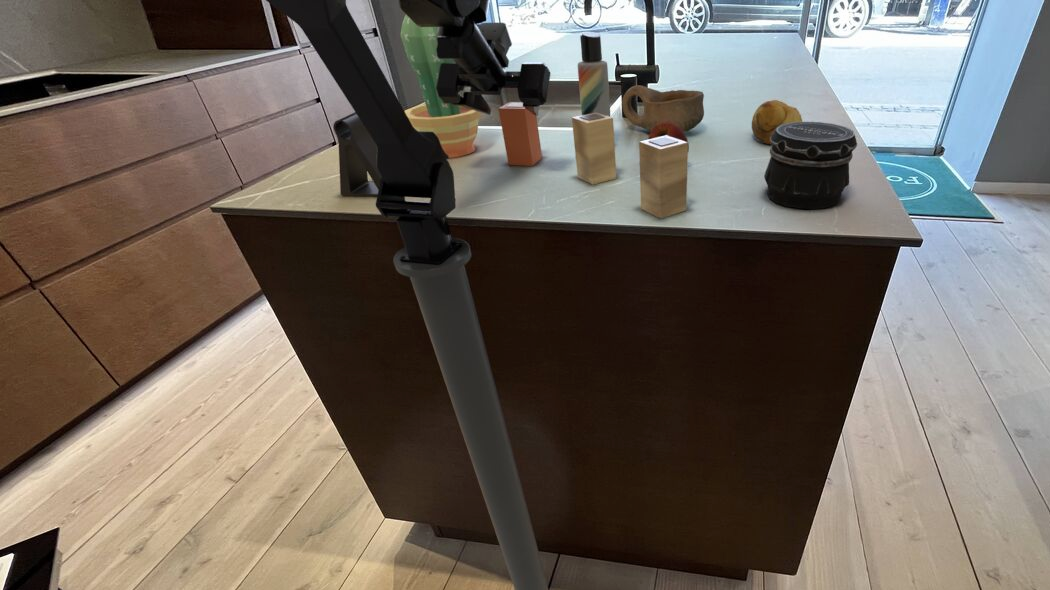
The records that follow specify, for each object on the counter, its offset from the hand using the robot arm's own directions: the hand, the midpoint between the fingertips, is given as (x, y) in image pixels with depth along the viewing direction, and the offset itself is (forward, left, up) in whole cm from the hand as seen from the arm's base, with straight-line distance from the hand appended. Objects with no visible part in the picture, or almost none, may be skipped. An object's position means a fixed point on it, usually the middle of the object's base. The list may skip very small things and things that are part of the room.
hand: (513, 112), depth 95 cm
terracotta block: (+2, 0, -9) cm, 9 cm away
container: (-8, -52, -9) cm, 53 cm away
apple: (+2, -28, -9) cm, 30 cm away
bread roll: (+24, -46, -9) cm, 53 cm away
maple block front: (-17, -31, -9) cm, 37 cm away
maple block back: (-5, -17, -9) cm, 20 cm away
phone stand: (-17, +20, -9) cm, 28 cm away
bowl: (+26, -22, -9) cm, 35 cm away
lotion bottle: (+14, -11, -9) cm, 20 cm away
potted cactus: (+6, +18, -9) cm, 21 cm away
